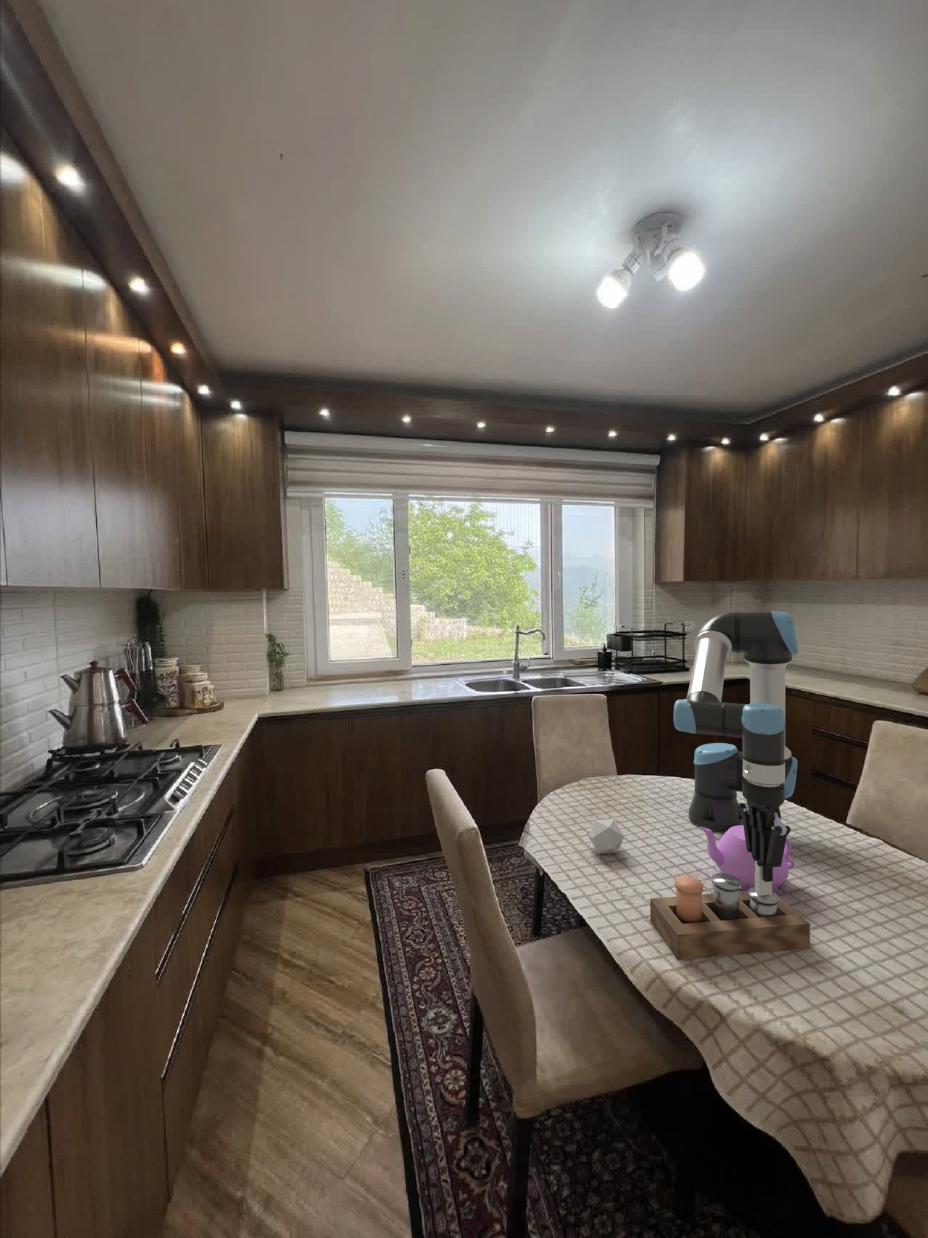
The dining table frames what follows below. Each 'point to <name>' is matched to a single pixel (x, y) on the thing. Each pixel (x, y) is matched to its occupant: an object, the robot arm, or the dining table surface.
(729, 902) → the grey plug mid
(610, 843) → the die
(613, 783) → the dining table surface
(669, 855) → the dining table surface
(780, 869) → the teapot
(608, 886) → the dining table surface
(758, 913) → the grey plug near
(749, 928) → the wooden compartment tray
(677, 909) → the peach plug
